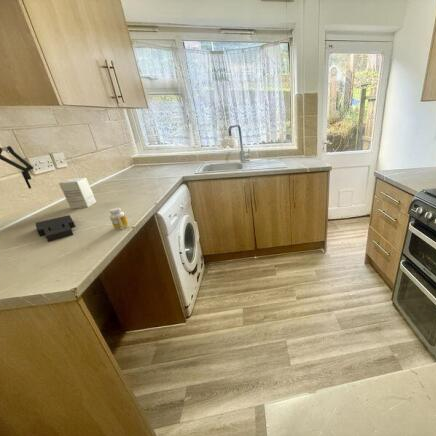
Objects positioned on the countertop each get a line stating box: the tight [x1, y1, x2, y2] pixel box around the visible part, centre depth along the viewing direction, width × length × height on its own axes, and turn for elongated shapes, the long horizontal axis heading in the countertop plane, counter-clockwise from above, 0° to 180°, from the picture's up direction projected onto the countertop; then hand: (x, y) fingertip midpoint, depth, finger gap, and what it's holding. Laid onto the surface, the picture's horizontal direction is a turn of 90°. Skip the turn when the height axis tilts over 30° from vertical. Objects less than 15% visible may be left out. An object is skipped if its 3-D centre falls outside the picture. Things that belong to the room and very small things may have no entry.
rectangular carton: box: [58, 177, 97, 210], centre depth 135 cm, size 9×9×15 cm
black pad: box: [44, 223, 74, 243], centre depth 104 cm, size 10×8×3 cm
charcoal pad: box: [35, 214, 76, 237], centre depth 109 cm, size 16×12×3 cm
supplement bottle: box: [109, 207, 130, 231], centre depth 107 cm, size 5×5×10 cm
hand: (5, 191), depth 94 cm, fingers open, 13 cm apart
